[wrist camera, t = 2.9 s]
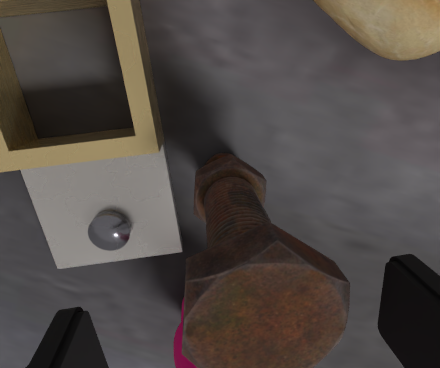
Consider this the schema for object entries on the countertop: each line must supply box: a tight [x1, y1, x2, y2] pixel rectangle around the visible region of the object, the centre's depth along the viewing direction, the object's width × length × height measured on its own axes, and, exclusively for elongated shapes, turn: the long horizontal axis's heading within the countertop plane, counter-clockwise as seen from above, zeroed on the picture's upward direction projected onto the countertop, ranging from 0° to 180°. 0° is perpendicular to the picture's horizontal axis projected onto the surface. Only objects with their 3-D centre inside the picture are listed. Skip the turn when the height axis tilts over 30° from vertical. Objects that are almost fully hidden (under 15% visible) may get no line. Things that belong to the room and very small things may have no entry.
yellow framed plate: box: [0, 0, 183, 269], centre depth 18 cm, size 10×28×4 cm, turn 6°
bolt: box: [182, 153, 350, 368], centre depth 16 cm, size 6×5×15 cm
